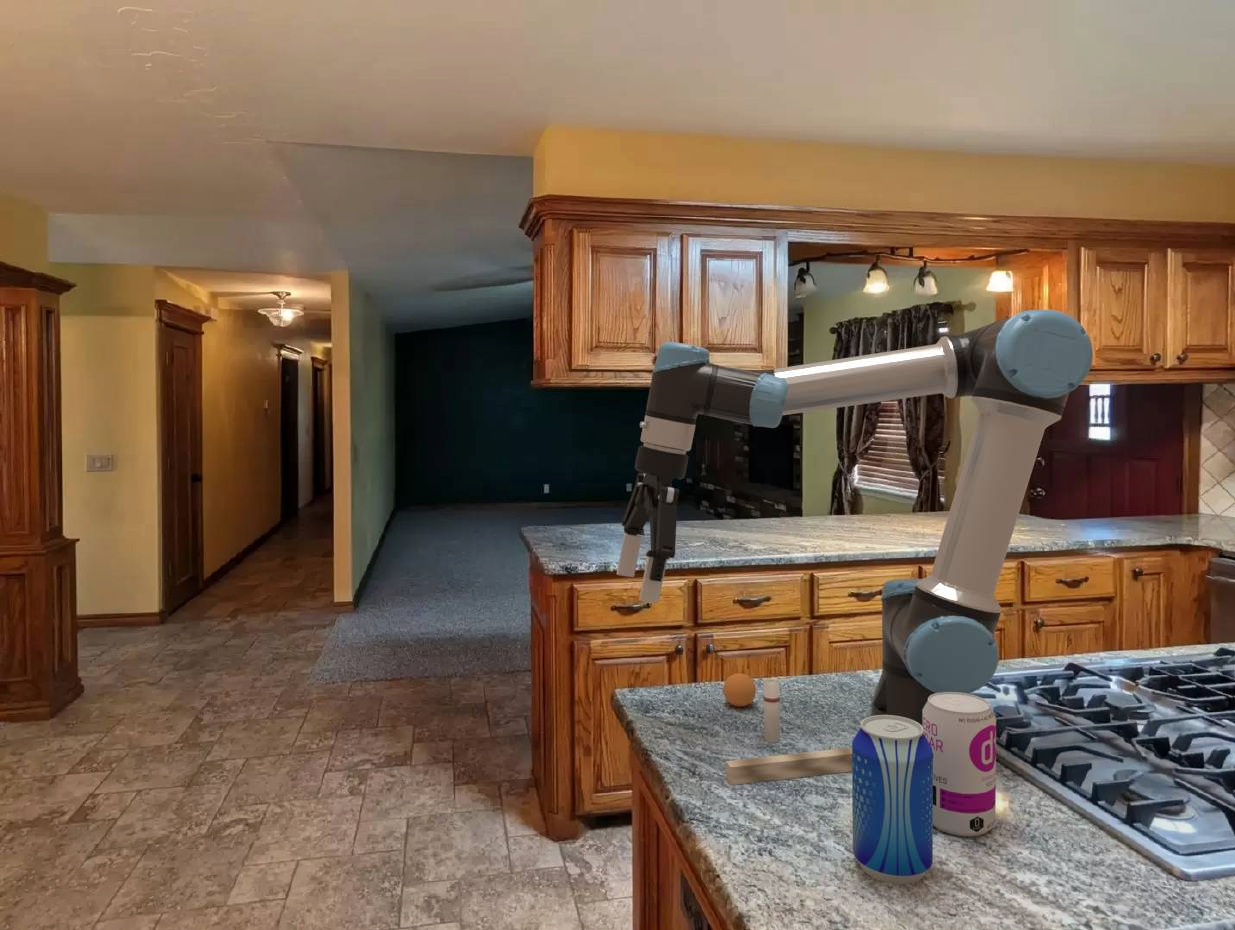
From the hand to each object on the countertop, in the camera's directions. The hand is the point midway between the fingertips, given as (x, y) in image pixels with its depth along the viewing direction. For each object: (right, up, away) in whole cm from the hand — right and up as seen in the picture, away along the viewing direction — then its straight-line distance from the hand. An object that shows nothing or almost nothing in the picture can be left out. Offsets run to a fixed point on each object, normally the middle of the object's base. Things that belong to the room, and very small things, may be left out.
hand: (636, 588), depth 123 cm
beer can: (+28, -26, -32) cm, 50 cm away
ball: (+18, -20, +18) cm, 33 cm away
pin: (+21, -24, +4) cm, 32 cm away
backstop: (+23, -25, -8) cm, 35 cm away
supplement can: (+39, -25, -22) cm, 52 cm away
